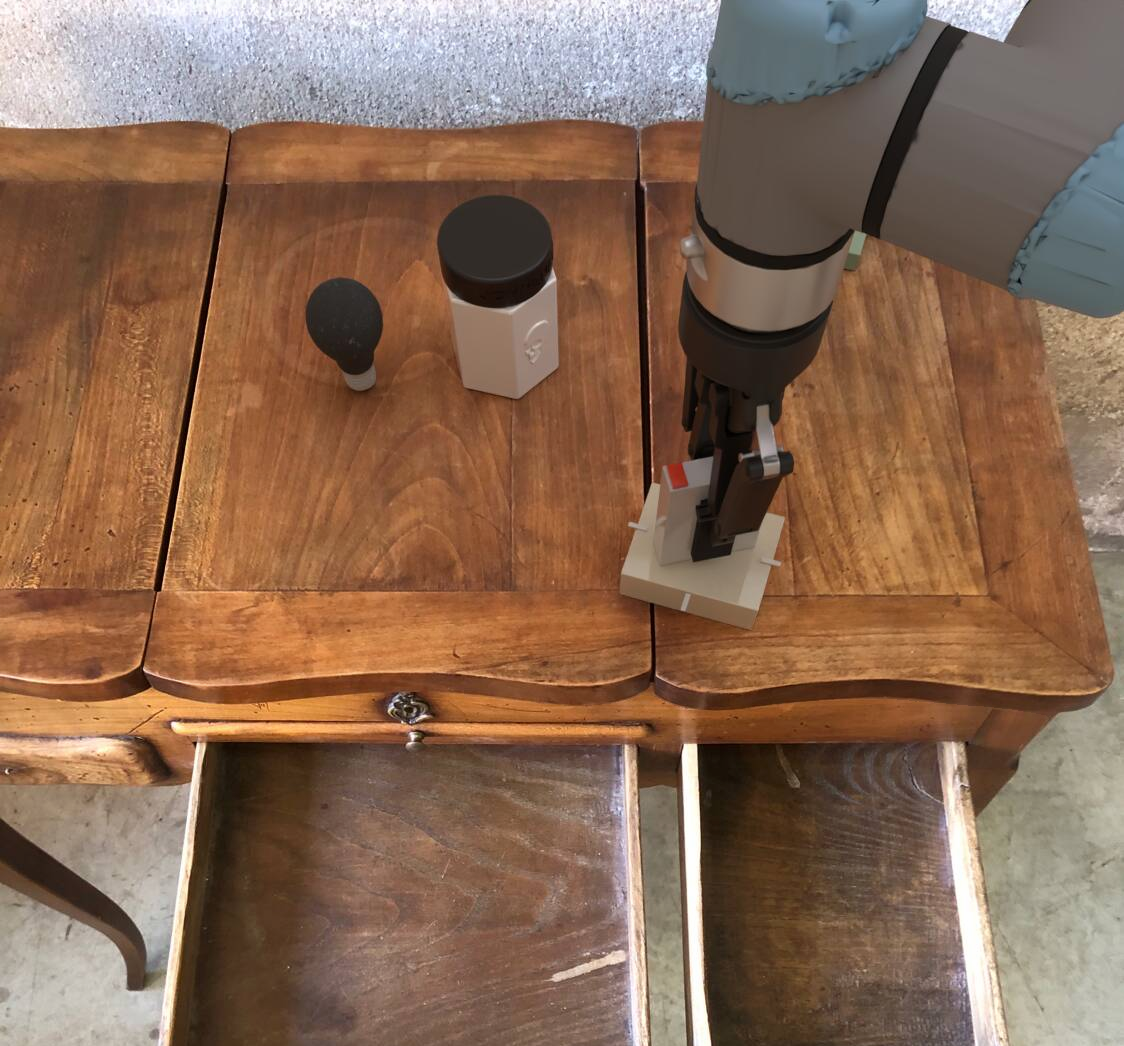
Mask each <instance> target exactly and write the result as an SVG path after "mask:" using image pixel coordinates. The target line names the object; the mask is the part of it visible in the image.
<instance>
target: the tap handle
mask: <svg viewBox="0 0 1124 1046" xmlns="http://www.w3.org/2000/svg"><path fill="white" fill-rule="evenodd" d="M712 463H713V457H707V458H702V459H697V460H688V461H682V462H681V461H680V462H675V463H670V464H666V465H663V466H662V468H661V477H660V483H659V484H660V491H659V499H658V507H657V515H656V523H655V531H654V539H653V544H654V547H655V551H656V554H657V558H658V561H659V565H665V564H670V563H675V562H680V561H685V560H690V559H692V557H691V548H692V543H693V538H694V533H695V528H696V522H697V516H696V505H700V502H701V500H704V499H708V492H709V485H710V478H711V470H712ZM761 525H762V523H761ZM760 528H761V526H760ZM760 528H759V530H758V531H755V532H750V533H745V534H740V535H736V536H735V540H734V544H733V548H732V551H736V550H741V549H746V548H751V547H755V545H756V541H757V538H758V535H759V531H760Z"/></svg>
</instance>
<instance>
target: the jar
mask: <svg viewBox="0 0 1124 1046" xmlns="http://www.w3.org/2000/svg"><path fill="white" fill-rule="evenodd" d="M552 236H553V235H552V229H551V226H550V224H549V221H548V220H547V218H546V217H545V215H544V214H543V213H542V212H541V211H540V209H538V208H537V207H536V206H535V205H533V204H532V203H530V202H528V201H526V200H524V199H521V198H519V197H516V196H512V195H505V194H488V195H482V196H481V195H480V196H477V197H474V198H471V199H469V200H466V201H463V202H462V203H460V204H458V205H457V206H456V207H454V208H453V209H451V211H450V212H448V214H447V215H446V216H445V217H444V219H443V220H442V222H441V223H440V226H439V227H438V231H437V236H436V246H437V248H436V249H437V253H438V254H437V255H438V256H437V258H438V263H439V264H438V265H439V270H440V276H441V283H442V289H443V296H444V303H445V308H446V315H447V320H448V328H449V334H450V340H451V346H452V349H453V353H454V355H455V356H454V357H455V360H456V364H457V368H458V371H459V375H460V378H461V383H462V386H463V387H464V388H465V389H469V390H474V391H479V392H483V393H487V394H492V395H496V396H500V397H506V398H509V399H514V400H520V399H521V398H522V397H524V396H525V394H527V393H528V392H529V391H530V390H532V389H533V388H535V387H536V386H537V385H538V384H540V383H541V382H542V381H543V380H545V379H546V378H547V377H548V376H549V375H551V374H552V373H553V372H555V371H556V370H557V369H558V368H559V367H560V365H559V364H560V361H559V359H560V358H559V357H560V356H559V323H558V321H559V320H558V317H559V316H558V287H557V286H558V281H557V280H558V279H557V276H556V273H555V270H554V266H553V265H554V264H553V263H554V241H553V237H552Z"/></svg>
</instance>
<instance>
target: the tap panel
mask: <svg viewBox="0 0 1124 1046" xmlns="http://www.w3.org/2000/svg"><path fill="white" fill-rule="evenodd" d="M660 484H661V483H656V482H651V484H650V487H649V489H648V492H647V496H646V498H645V502H644V505H643V507H642V510H641V514H640V516H639V519H638V521H637V523H636V522H633V521H628V525H627V527H628V528H631V529H635V530H634V533H633V537H632V539H631V542H630V545H629V547H628V551H627V554H626V556H625V560H624V563H623V566H622V569H621V571H620V579H619V591H618V593H619V595H622V596H625V597H629V598H633V599H636V600H640V601H642V602H647V603H649V604H650V603H651V604H655V605H658V606H661V607H665V608H668V609H671V610H676V611H680V612H683V613H687V614H691V615H693V616H698V617H702V618H704V619H708V620H712V621H716V622H718V623H719V622H720V623H724V624H727V625H730V626H734V627H737V628H741V629H746V630H748V631H752V630H753V628H754V625H755V623H756V619H757V616H758V613H759V610H760V607H761V603H762V601H763V600H762V599H763V596H764V593H765V589H766V586H767V582H768V579H769V576H770V573H771V569H772V566H774V567H777V568H781V565H782V561H779V560H775V559H774V558H775V555H776V551H777V548H778V544H779V542H780V538H781V534H782V530H783V527H784V524H785V520H786V517H785V516H783V515H782V516H781V515H779V514H774V513H770V512H767V513H766V515H765V517H764V519H763V521H762V525H761V528H760V531H759V535H758V538H757V541H756V545H755V547H751V548H746V549H741V550H736V551H732V552H731V555H729V556H724V557H718V558H713V559H708V560H703V561H698V562H693V560H692V559H690V560H685V561H680V562H675V563H670V564H665V565H659V561H658V558H657V554H656V551H655V547H654V544H653V539H654V531H655V523H656V515H657V507H658V499H659V491H660Z"/></svg>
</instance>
